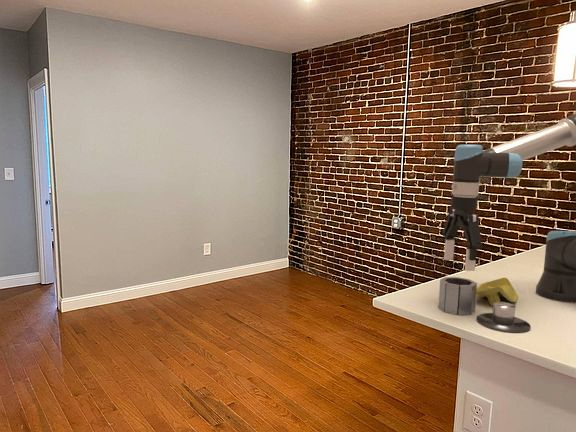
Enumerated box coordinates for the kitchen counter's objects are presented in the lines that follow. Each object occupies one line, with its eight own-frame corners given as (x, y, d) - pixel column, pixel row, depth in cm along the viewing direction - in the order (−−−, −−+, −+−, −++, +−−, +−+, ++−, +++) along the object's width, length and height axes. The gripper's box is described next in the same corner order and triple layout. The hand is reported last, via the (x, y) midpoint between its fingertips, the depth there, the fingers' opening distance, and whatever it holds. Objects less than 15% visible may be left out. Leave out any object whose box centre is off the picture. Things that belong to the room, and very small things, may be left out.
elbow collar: (463, 303, 142) (465, 277, 141) (480, 314, 132) (482, 286, 131) (434, 304, 141) (435, 277, 140) (448, 315, 131) (450, 286, 130)
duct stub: (511, 314, 133) (512, 296, 133) (541, 332, 119) (543, 313, 119) (467, 315, 132) (468, 297, 131) (493, 333, 118) (494, 314, 117)
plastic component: (481, 283, 158) (509, 275, 153) (489, 303, 157) (518, 296, 152) (472, 293, 141) (504, 285, 136) (481, 315, 140) (513, 307, 135)
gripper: (434, 192, 144) (430, 255, 147) (474, 200, 119) (467, 275, 122) (456, 193, 145) (451, 255, 148) (500, 200, 120) (492, 275, 123)
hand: (458, 265), depth 135 cm, fingers open, 13 cm apart
